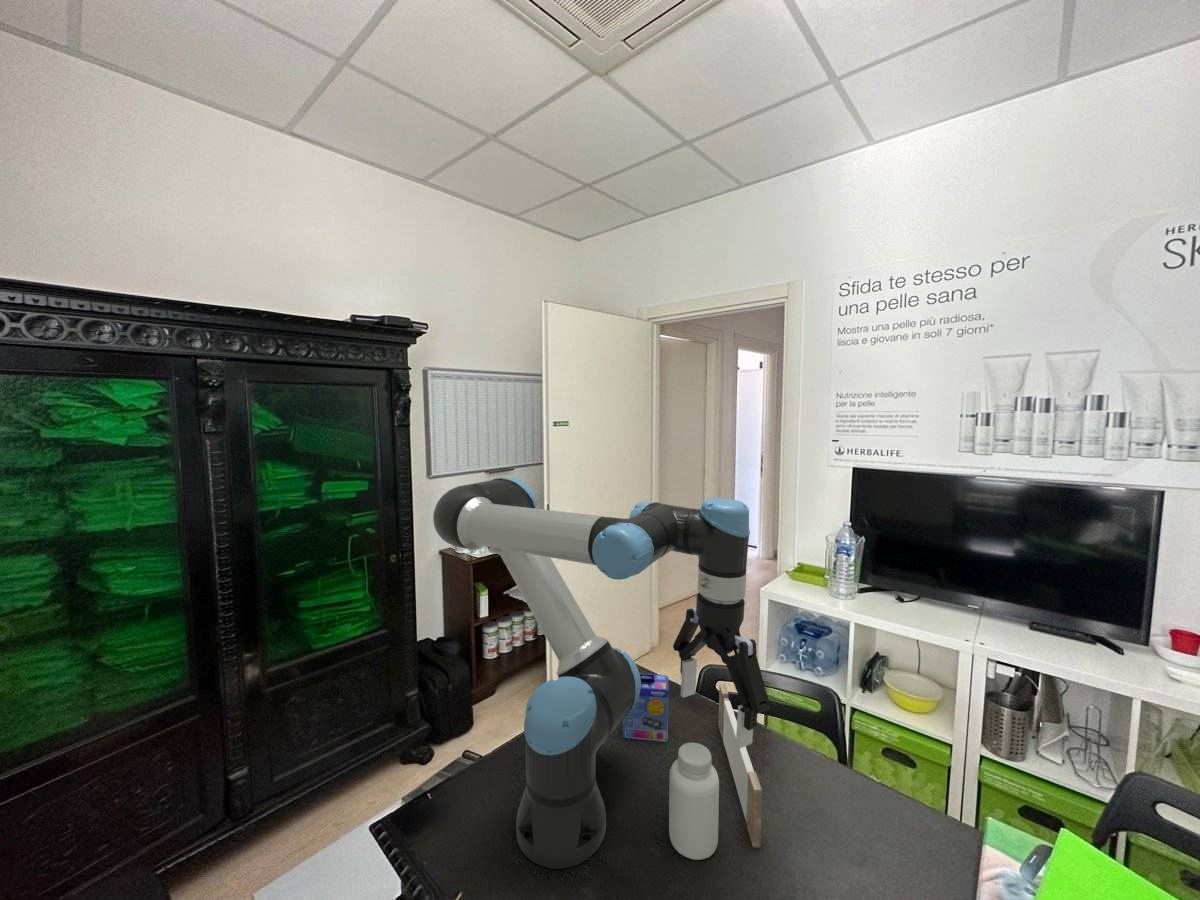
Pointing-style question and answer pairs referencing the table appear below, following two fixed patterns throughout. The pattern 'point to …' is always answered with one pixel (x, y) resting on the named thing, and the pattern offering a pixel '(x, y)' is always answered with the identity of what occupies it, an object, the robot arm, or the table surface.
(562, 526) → the robot arm
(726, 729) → the door
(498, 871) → the table surface
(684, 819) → the pill bottle
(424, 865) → the table surface
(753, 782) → the oak wall
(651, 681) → the ink cartridge box
